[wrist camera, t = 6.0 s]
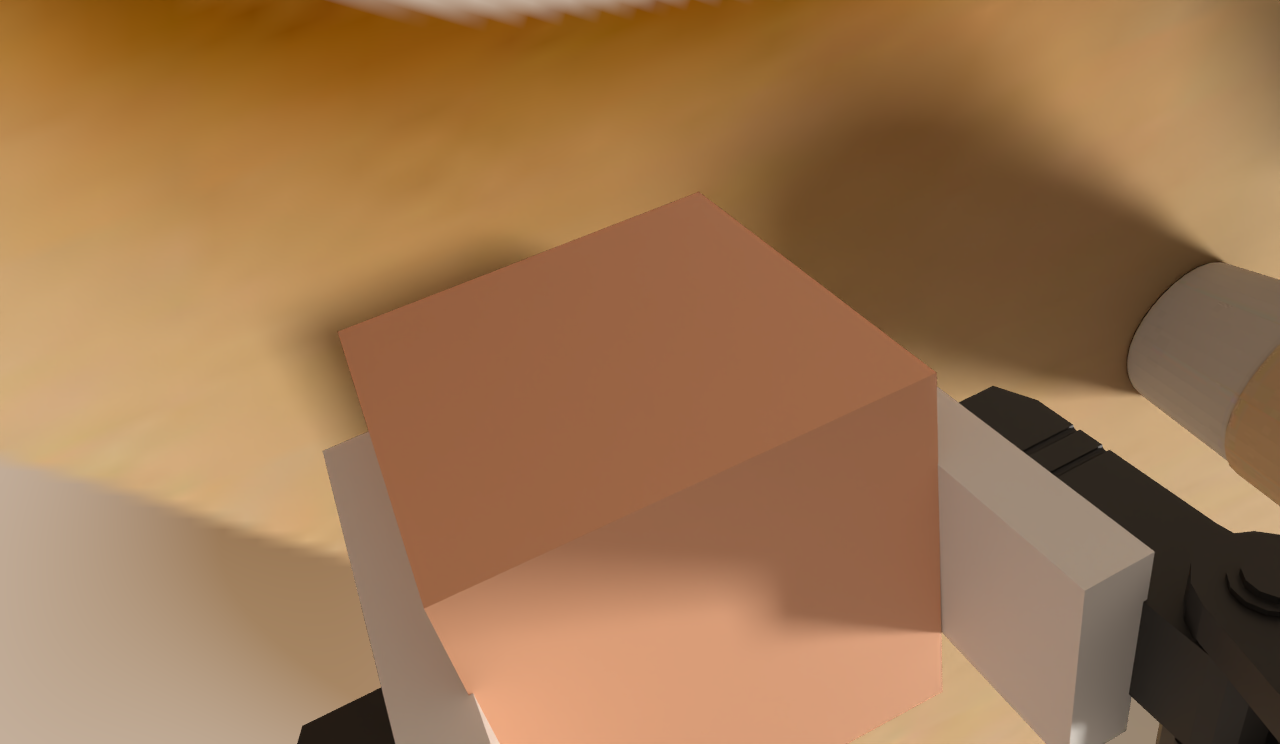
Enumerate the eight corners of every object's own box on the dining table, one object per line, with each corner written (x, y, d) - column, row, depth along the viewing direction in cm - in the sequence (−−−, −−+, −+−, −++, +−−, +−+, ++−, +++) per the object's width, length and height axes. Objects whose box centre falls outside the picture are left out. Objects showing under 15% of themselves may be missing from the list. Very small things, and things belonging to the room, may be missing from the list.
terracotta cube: (699, 191, 13) (936, 373, 9) (747, 464, 16) (942, 692, 12) (338, 332, 12) (423, 608, 8) (462, 596, 15) (572, 894, 11)
